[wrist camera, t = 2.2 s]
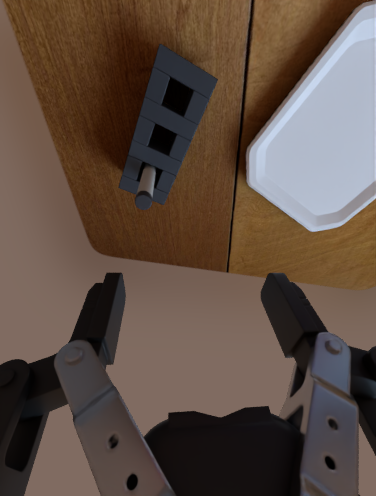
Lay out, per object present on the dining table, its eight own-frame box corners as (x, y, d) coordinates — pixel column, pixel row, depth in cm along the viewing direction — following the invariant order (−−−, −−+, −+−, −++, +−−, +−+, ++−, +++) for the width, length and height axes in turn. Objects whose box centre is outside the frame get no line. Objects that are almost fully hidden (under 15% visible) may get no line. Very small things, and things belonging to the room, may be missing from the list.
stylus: (144, 163, 28) (132, 205, 18) (149, 153, 27) (139, 191, 18) (153, 168, 28) (146, 212, 19) (159, 159, 28) (154, 200, 18)
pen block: (164, 188, 30) (163, 205, 26) (125, 173, 29) (118, 187, 25) (209, 79, 23) (218, 79, 19) (161, 49, 21) (159, 43, 18)
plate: (377, -33, 19) (397, -44, 17) (455, 118, 27) (474, 120, 26) (225, 166, 29) (229, 172, 27) (316, 233, 37) (323, 241, 35)
